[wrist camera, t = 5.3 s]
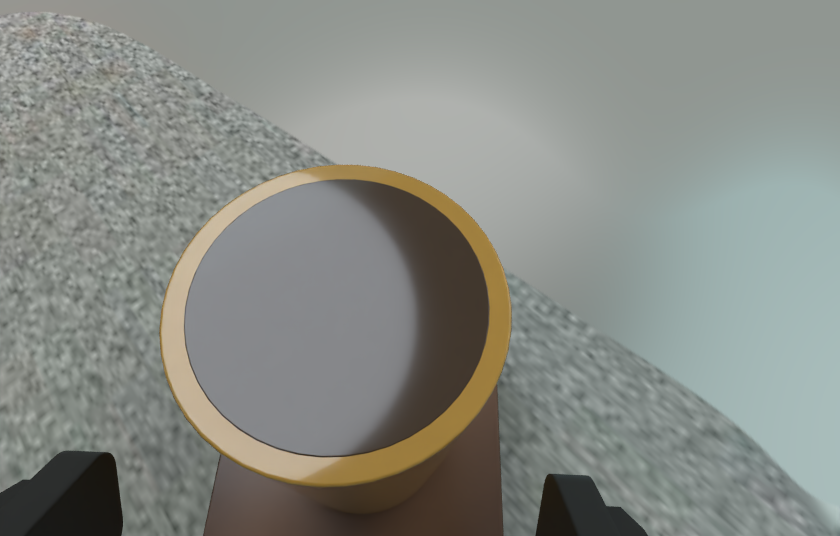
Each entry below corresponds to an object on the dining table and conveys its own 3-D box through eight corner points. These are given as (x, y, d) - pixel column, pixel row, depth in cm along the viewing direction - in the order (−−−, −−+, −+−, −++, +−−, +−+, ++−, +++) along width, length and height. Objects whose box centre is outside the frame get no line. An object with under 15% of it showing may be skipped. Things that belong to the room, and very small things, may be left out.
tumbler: (268, 511, 17) (105, 478, 7) (295, 342, 20) (206, 153, 10) (445, 517, 17) (524, 494, 7) (446, 349, 20) (504, 173, 10)
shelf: (258, 587, 24) (185, 617, 15) (301, 319, 31) (267, 232, 22) (463, 593, 24) (507, 626, 16) (461, 327, 31) (491, 246, 22)
